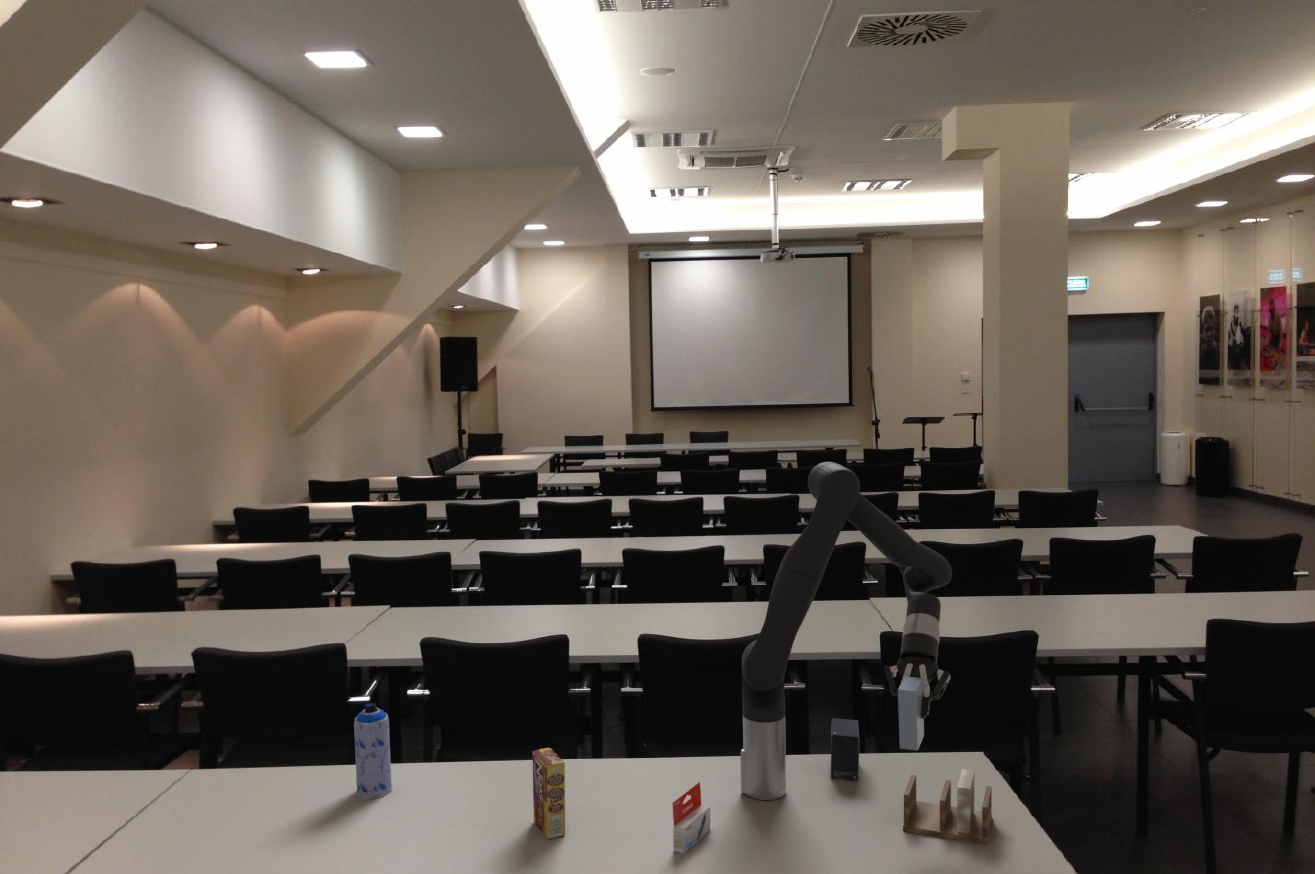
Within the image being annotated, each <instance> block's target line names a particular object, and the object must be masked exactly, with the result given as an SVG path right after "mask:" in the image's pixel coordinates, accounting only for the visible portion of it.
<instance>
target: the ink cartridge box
mask: <svg viewBox="0 0 1315 874" xmlns="http://www.w3.org/2000/svg"><path fill="white" fill-rule="evenodd" d="M701 791H702V790H701V782H700V781H698V782H697V783H696V784H695V785H693V786H692V787H690V789H689V790H687V791H686V792H684V793H683V794H682V795H680V796H679V797H678V798H677V799H676V800H674V801H673V802H672V803H671V804H672V818H673V831H672V832H673V833H672V834H673V839H672V841H673V842H672V843H673V846H672V847H673V851H674V852H676V853H679V854H685V853H686V852H687V851H688V850H690V849H691V848H692V847H693V846H695V844H696V843H697V842H699V841H700V840H701V839H702V838H704V837H705V835H707V834H708V833H709V832H711V806H708V805H704V804H702V794H701V793H702V792H701ZM687 796H690V798H689V800H687V801H686V802H684V801H685V799H686V798H687Z"/></svg>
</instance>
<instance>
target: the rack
mask: <svg viewBox="0 0 1315 874" xmlns="http://www.w3.org/2000/svg"><path fill="white" fill-rule="evenodd" d="M992 787H993V786H991V785H990V786H989V785H986V787H985V791H984V795H983V801H982V805H981V806H982V807H981V810H976V809H975V770H971V769H965V768H962V769H961V772H960V777H959V781H958V783H957V786H956V788H957V789H956V794H957V796H956V798H957V799H956V801H957V802H956V804H957V806H952V780H950V779H945V781H944V785H943V788H942V791H941V795H940V798H939V804H938V803H933V802H932V803H931V802H926V801H920V800H917V775H916V774H911V775H910V778H909V780H908V783H907V785H906V788H905V791H904V793H903V824H902V830H903V831H905V832H910V833H915V834H916V833H917V834H922V835H927V836H935V837H939V838H945V839H951V840H957V841H963V842H969V843H974V844H980V845H985V846H986V845H988V841H989V835H990V832H991V831H990V829H991V825H990V824H991V823H992V820H991V819H992V818H993V813H992V809H993V808H992V806H993V805H992V804H993V803H992V799H993V798H992V797H993V796H992V793H993V792H992V791H993V790H992Z"/></svg>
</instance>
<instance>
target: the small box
mask: <svg viewBox="0 0 1315 874" xmlns="http://www.w3.org/2000/svg"><path fill="white" fill-rule="evenodd" d="M859 729H860V728H859V720H858V719H857V720H856V719H844V718H833V717H832V718H831V730H830V779H832V780H833V779H834V780H848V781H858V780H859V771H860V770H859V769H860V731H859Z"/></svg>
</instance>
